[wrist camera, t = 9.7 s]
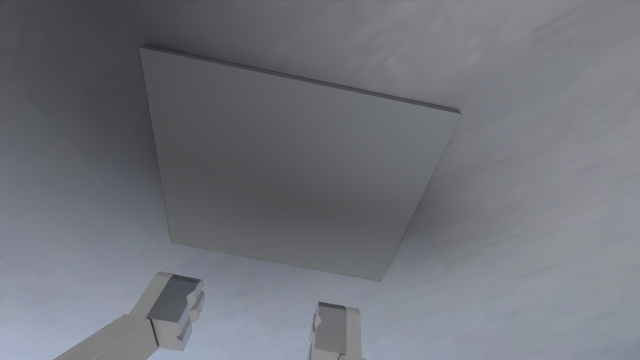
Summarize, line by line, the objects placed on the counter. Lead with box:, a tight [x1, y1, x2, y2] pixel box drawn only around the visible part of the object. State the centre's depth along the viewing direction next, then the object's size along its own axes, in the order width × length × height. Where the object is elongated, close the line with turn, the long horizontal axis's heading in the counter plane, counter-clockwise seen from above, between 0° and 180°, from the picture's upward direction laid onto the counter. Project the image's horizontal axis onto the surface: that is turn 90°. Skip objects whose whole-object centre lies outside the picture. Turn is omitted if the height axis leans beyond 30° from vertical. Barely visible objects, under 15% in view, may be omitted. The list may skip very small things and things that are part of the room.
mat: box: [139, 45, 462, 282], centre depth 16 cm, size 14×12×1 cm
